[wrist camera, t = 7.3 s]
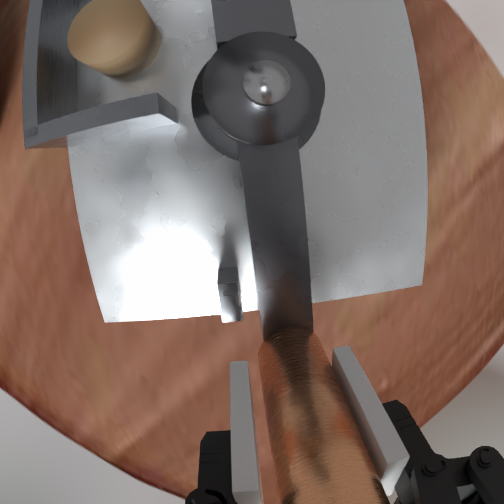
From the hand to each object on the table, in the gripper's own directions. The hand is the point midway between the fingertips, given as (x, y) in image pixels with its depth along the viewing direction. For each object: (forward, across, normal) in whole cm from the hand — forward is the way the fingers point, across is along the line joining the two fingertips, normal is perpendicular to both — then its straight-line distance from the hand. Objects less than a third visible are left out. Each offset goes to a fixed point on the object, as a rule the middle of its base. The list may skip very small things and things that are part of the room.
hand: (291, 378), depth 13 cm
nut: (+4, -6, +16) cm, 18 cm away
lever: (+3, 0, +10) cm, 10 cm away
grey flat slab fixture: (+6, 0, +12) cm, 14 cm away
